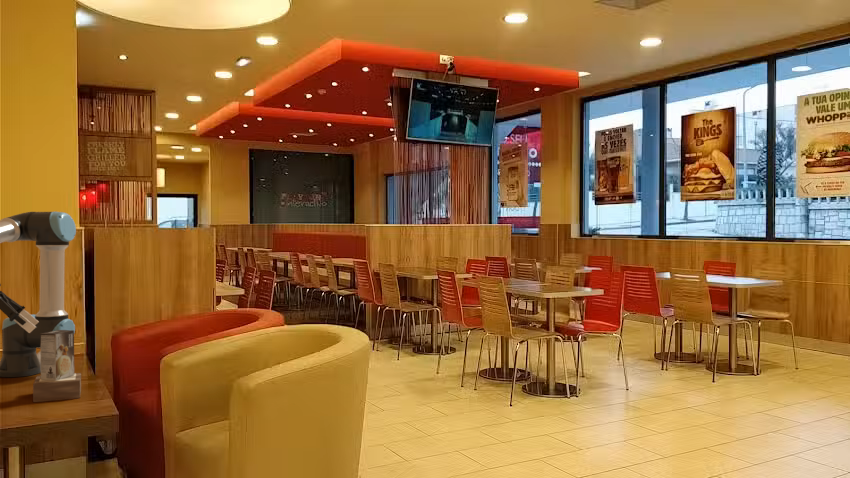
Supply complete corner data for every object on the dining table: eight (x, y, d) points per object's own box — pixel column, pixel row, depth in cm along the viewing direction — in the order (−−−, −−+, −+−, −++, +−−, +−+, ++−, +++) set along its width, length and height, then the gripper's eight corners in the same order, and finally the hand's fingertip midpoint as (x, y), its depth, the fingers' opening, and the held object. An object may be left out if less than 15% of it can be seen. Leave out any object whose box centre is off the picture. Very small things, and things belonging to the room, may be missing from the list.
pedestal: (36, 393, 243) (36, 375, 243) (81, 389, 249) (81, 372, 249) (33, 402, 230) (33, 383, 230) (79, 398, 236) (79, 379, 236)
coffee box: (59, 374, 245) (59, 329, 244) (74, 375, 243) (75, 330, 243) (39, 380, 236) (39, 333, 235) (56, 380, 234) (56, 333, 234)
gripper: (-22, 289, 239) (28, 330, 246) (-33, 296, 217) (22, 341, 224) (-4, 274, 242) (45, 314, 248) (-14, 279, 219) (40, 324, 226)
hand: (34, 327), depth 236 cm, fingers open, 13 cm apart
